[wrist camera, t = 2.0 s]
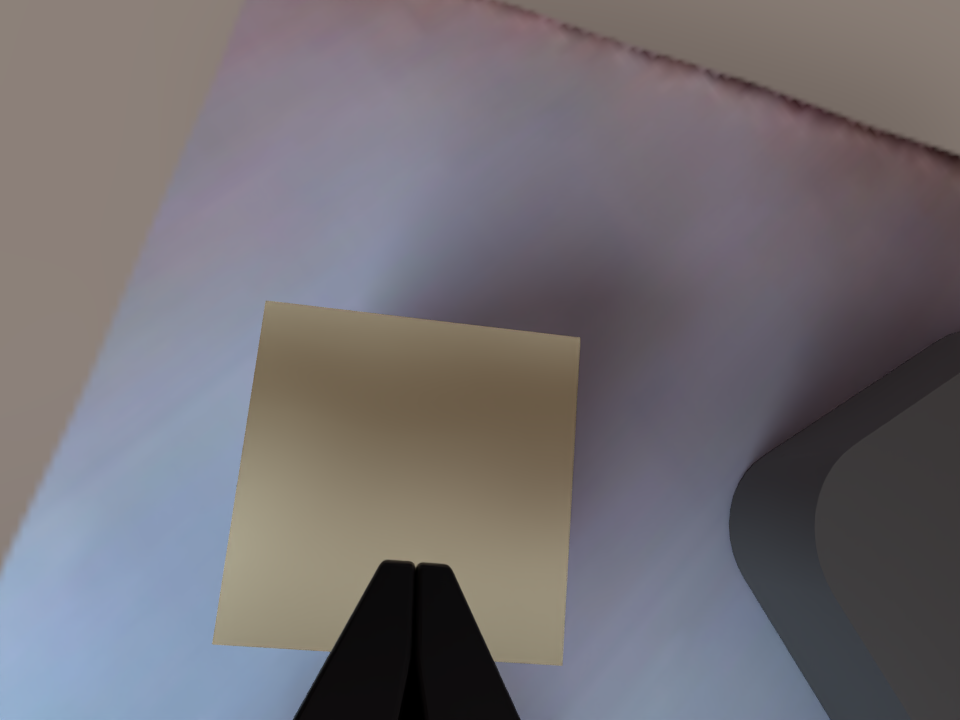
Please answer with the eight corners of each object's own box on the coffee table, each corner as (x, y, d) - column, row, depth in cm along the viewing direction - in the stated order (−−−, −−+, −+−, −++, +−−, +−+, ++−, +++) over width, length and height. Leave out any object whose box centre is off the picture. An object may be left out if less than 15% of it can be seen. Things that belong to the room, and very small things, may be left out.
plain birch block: (482, 593, 22) (562, 665, 12) (289, 580, 21) (212, 644, 12) (497, 406, 23) (580, 337, 14) (315, 387, 23) (265, 300, 13)
